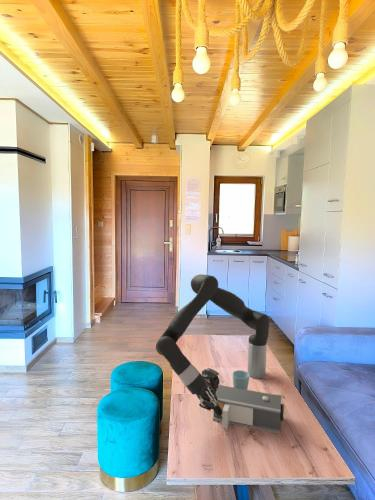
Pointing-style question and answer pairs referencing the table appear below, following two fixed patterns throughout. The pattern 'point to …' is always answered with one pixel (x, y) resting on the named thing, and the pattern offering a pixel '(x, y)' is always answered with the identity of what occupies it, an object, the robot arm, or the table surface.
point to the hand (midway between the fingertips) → (221, 414)
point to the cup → (240, 379)
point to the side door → (236, 415)
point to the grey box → (263, 404)
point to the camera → (211, 378)
